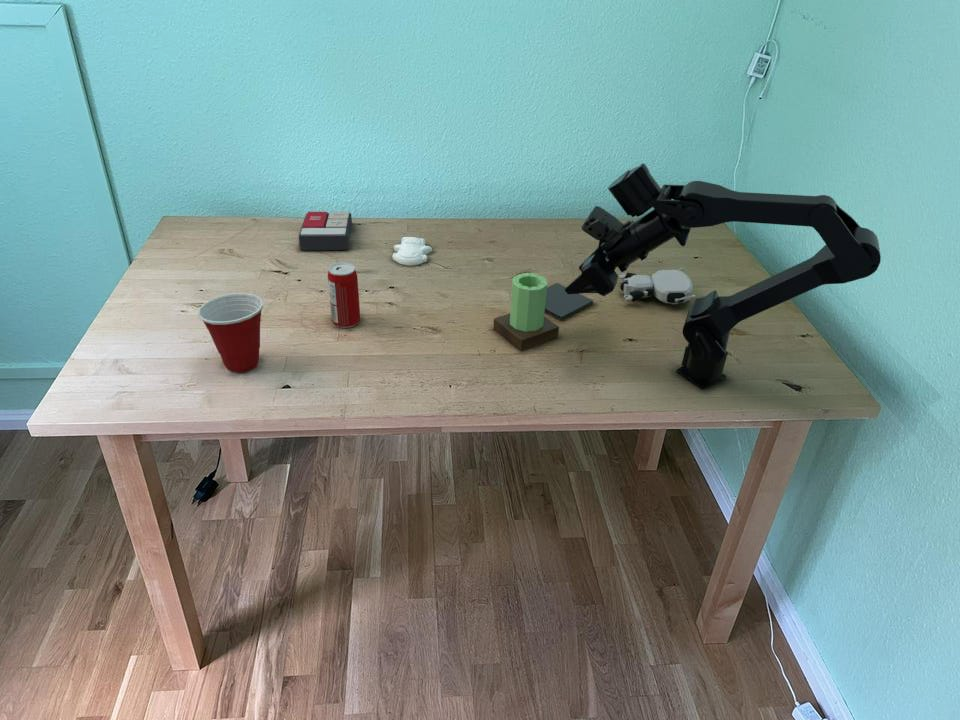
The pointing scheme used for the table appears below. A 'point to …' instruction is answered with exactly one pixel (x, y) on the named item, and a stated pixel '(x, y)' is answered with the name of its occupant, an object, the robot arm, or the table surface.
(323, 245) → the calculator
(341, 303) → the soda can
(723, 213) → the robot arm
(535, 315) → the green faceted hollow cylinder
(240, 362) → the plastic cup
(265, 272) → the table surface
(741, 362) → the table surface
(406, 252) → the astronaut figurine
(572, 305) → the slate coaster
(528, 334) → the stacking stand
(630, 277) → the robot toy
